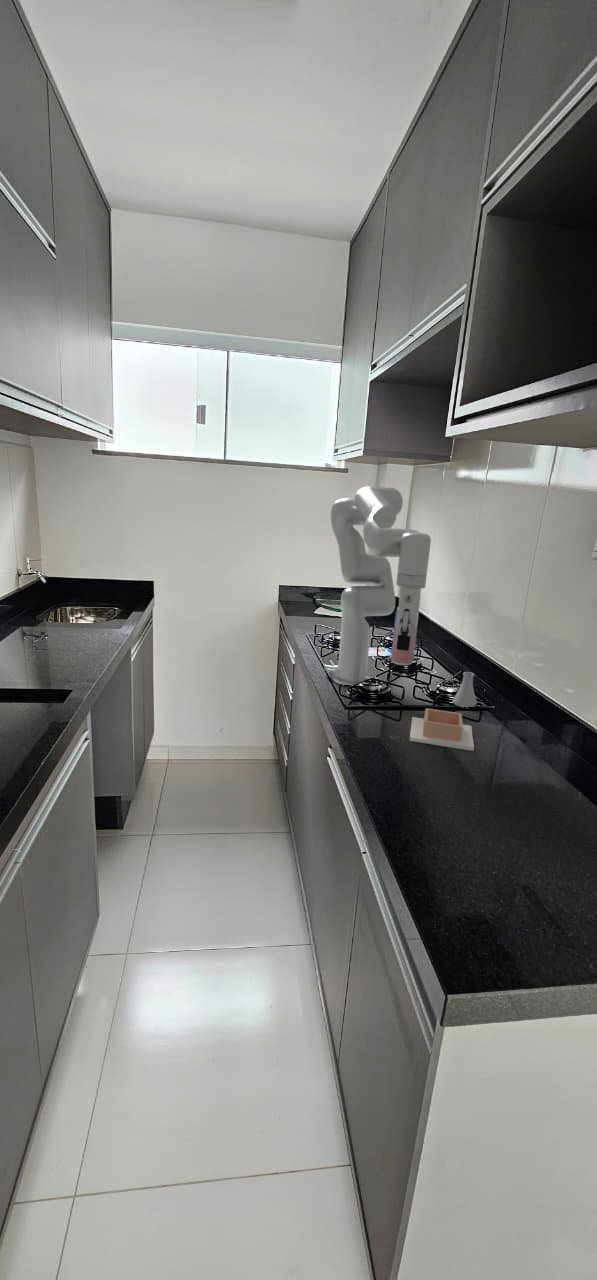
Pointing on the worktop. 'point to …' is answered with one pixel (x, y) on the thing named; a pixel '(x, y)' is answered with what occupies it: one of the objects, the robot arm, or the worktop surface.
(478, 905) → the worktop surface
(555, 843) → the worktop surface
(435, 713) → the socket plate
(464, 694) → the flask
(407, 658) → the beverage can
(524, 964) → the worktop surface
